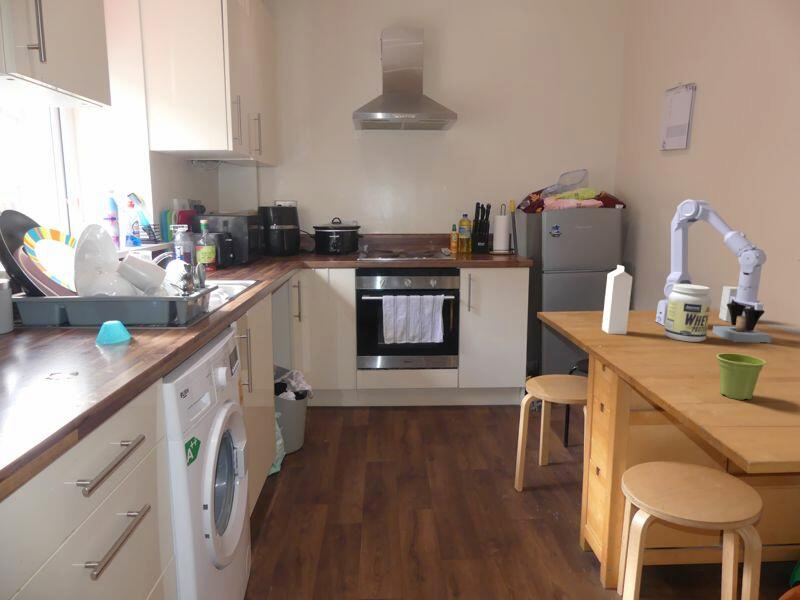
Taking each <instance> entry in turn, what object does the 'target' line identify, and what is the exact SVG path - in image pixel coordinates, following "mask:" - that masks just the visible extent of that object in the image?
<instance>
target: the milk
mask: <svg viewBox="0 0 800 600" xmlns="http://www.w3.org/2000/svg"><path fill="white" fill-rule="evenodd" d="M606 277H607V278H606V286H605V295H604V306H603V307H604V308H603V316H602V323H601V330H602V331H603V332H605V333H607V334H608V335H609V334H611V335H627V331H628V329H627V328H628V322H629V321H628V320H629V313H630V304H631V294H632V293H631V292H632V287H633V286H632V285H633V276H632V275H630V274H629V273H627V272H626V271H625V266H623V265H620V264H617V265H616V269H615V270H613V271H610V272H609V273H607V276H606Z"/></svg>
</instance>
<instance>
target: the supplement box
mask: <svg viewBox="0 0 800 600" xmlns="http://www.w3.org/2000/svg"><path fill="white" fill-rule="evenodd" d="M737 289H738V286H728V285H725V286H722V294H721V299H720V300H721V301H720V307H719V315H718V318H719V319H720V320H722V321H724V322H729V323H731V316H730V312H729V309H728V307H727V304H731V303H732V302H729V301H730V296H737ZM746 308H749V307H747V306H746ZM742 316H745V312H744V311H743V313H742Z"/></svg>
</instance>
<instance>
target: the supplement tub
mask: <svg viewBox="0 0 800 600" xmlns="http://www.w3.org/2000/svg"><path fill="white" fill-rule="evenodd" d="M710 289H711V288H710V287H708V286H704V285H697V284H692V285H691V284H674V285H673V289H672V290H673V291H674V292H672V293H671V294H670V295H669V301H668V309H667V317H666V324H665V326H664V331H663V332H664V335H665V336H666V337H668V338H669V339H672V340H676V341H682V342H688V343H689V342H692V343H699V342H703V341H705V340H706V339H707V335H708V334H707V333H708V326H709V319H710V310H711V305H712V299H711V297H710V296H709V294H710V293H711V292H710Z"/></svg>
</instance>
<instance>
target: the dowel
mask: <svg viewBox="0 0 800 600" xmlns="http://www.w3.org/2000/svg"><path fill="white" fill-rule="evenodd" d="M745 322H746V319H745V316H737V320H736V325H735V326H734V327H735V331H736V332H746V333H749V331H747V330H746V329H745Z"/></svg>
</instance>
